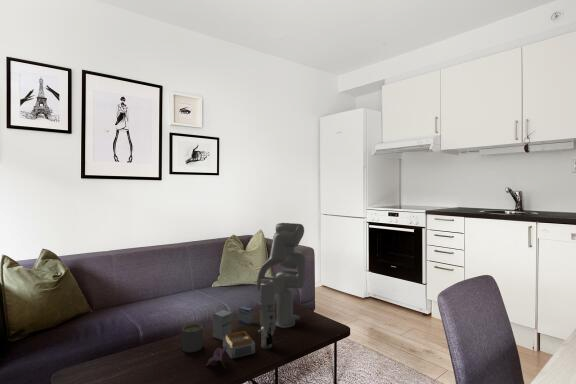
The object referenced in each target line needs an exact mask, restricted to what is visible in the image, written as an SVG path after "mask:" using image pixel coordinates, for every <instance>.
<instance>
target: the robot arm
mask: <svg viewBox="0 0 576 384" xmlns="http://www.w3.org/2000/svg"><path fill="white" fill-rule="evenodd" d="M304 234H305V227H304V225H303V224H302V223H294V222H293V223H289V222H280V223H279V222H278V223H277V224H276V225H275V232H274V234H273V237H272V243H271V246H270V247H271V249H270V252H269V253H270V254H269V258H268V259H267V260H265V262H264V263H263V264H262V265H261V267H260V269H259V270H258V274H257V279H256V289H257V290H258V291H259V310H260V311H259V326H260V327H261V326H262V327H263V328H264V329H265V330H266V332H267V337H266V345H270V344H272V345H273V337H274V334H275V331H276V327H278V328H283V329H287V328H291V327H294V326H295V325H296V321H295V320H300V319H301V317H300V315H299V314H298V315H297V314H294V310H293V308H294V307H293V306H294V293H293V291H292V289H299V290H300V289H303V288H304V286H305V284H306V283H305V282H306V272H307V271H306V270H307V269H306V268H307V258H306V255H305V254H304V253H301V252H295V250H296V249H295V248H296V247H298V246H299V244H300V243H301V241H302V238H303V237H304V236H305V235H304ZM276 265H280V268H283V270H279V271H278V272H276V274H275V277H270V276H266V273H267V271H268V270H269V269H270V268H272V267H274V266H276ZM285 269H292V270H285ZM293 270H296V271H293ZM275 296H276V297H275ZM275 298H276V299H275ZM275 300H276V301H275ZM275 302H276V303H275ZM275 304H276V307H275ZM275 308H276V312H275ZM275 313H276V314H275ZM268 329H270V330H268ZM270 331H271V332H270ZM268 332H270V333H268Z"/></svg>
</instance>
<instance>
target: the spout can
mask: <svg viewBox="0 0 576 384" xmlns="http://www.w3.org/2000/svg"><path fill="white" fill-rule="evenodd" d="M268 330H270V329H268ZM270 332H271V331H270ZM270 332H268V333H270ZM257 333H260V335H261V336H260V340H261V341H260V342H261V343H260V347H261V348H262V349H264V350H269V349H271V348H272V347H273V343H272V344H270V345H266V337H267V332H266V330H265V329H264V328H263V327H262V326H261V325H260V329H259V330H257Z"/></svg>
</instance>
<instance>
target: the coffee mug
mask: <svg viewBox="0 0 576 384" xmlns="http://www.w3.org/2000/svg"><path fill="white" fill-rule="evenodd" d="M203 328H204V327H203V325H202V324H200V323H188V324H186V325H184V326H183V327H182V328H181V350H182V351H183V352H184V353H194V352H198V351H200V350H201V349H202V348H203V337H204V336H203V332H204V331H203V330H204V329H203Z"/></svg>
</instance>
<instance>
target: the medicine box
mask: <svg viewBox="0 0 576 384" xmlns="http://www.w3.org/2000/svg"><path fill="white" fill-rule="evenodd" d="M238 323H240V324H244V325H249V326H250V325H251V324H253V323H254V308H252V307H249V306H248V307H247V306H243V305H242V306H240V307H239V308H238Z"/></svg>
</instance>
